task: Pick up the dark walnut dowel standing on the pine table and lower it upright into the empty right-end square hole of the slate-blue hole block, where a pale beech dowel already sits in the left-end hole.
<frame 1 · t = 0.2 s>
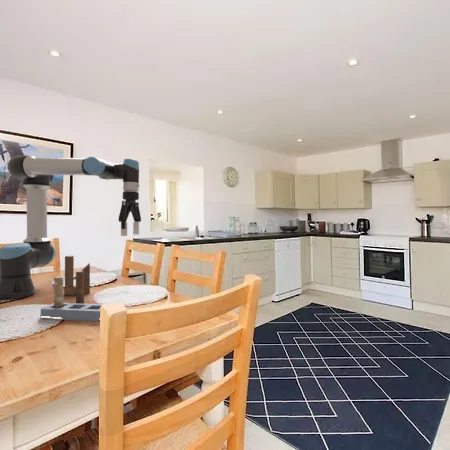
hand: (130, 235, 142), 28 cm above the table, fingers open, 13 cm apart
beech dowel: (58, 315, 107), resting in hole block
hole block: (76, 316, 107), on the table
walnut dowel: (79, 305, 119), on the table
wooden block: (77, 294, 138), on the table
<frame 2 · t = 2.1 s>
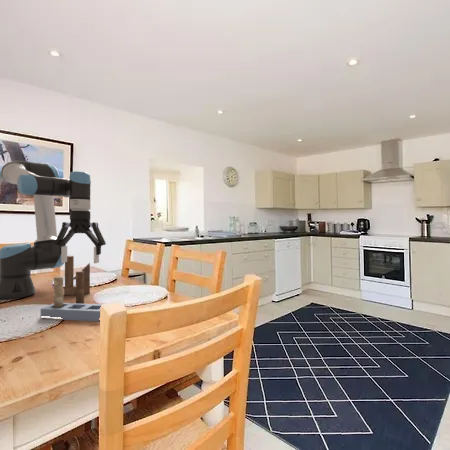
hand: (80, 262, 119), 18 cm above the table, fingers open, 13 cm apart
nothing on the table moved.
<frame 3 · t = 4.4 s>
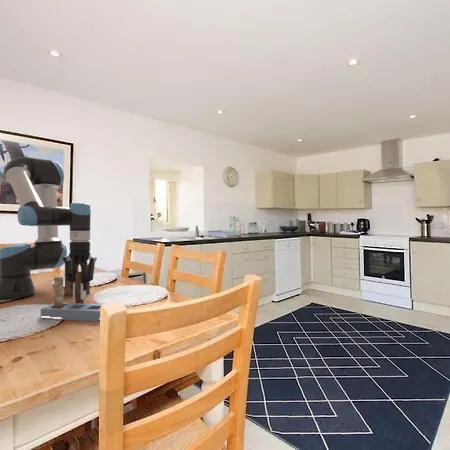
hand: (79, 298, 119), 3 cm above the table, fingers closed on walnut dowel, 3 cm apart
walnut dowel: (79, 305, 119), on the table, touching gripper
everything else where it was.
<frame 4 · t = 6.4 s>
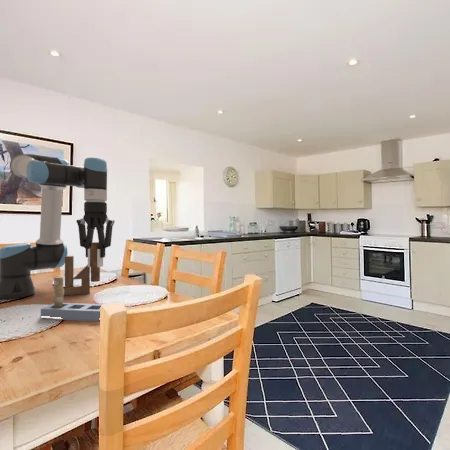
hand: (95, 266, 106), 19 cm above the table, fingers closed on walnut dowel, 3 cm apart
walnut dowel: (95, 280, 106), point 13 cm above the table, touching gripper
everything else where it was.
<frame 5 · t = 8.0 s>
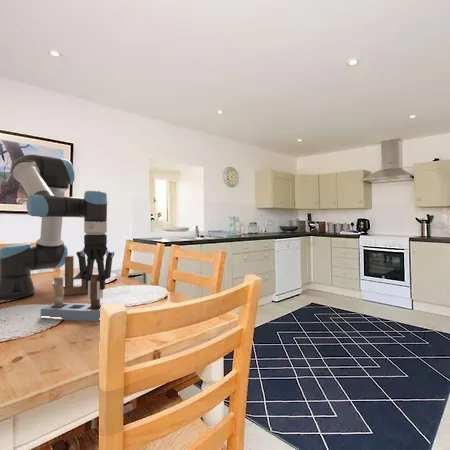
hand: (95, 298, 106), 7 cm above the table, fingers closed on walnut dowel, 3 cm apart
walnut dowel: (95, 312, 106), point 2 cm above the table, touching gripper
everything else where it was.
when the fingers open (5 cm above the table, at t = 8.6 s): walnut dowel stays where it is, resting in hole block.
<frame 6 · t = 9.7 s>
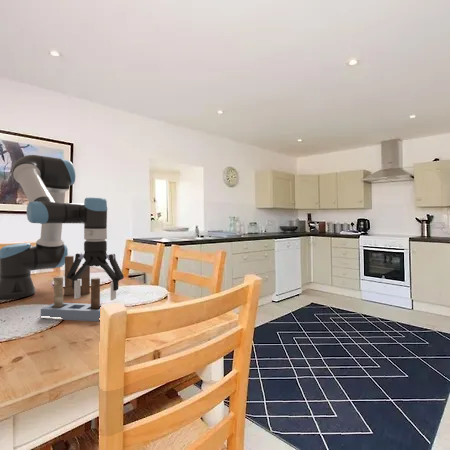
hand: (95, 298, 106), 7 cm above the table, fingers open, 13 cm apart
walnut dowel: (95, 317, 106), resting in hole block
everything else where it was.
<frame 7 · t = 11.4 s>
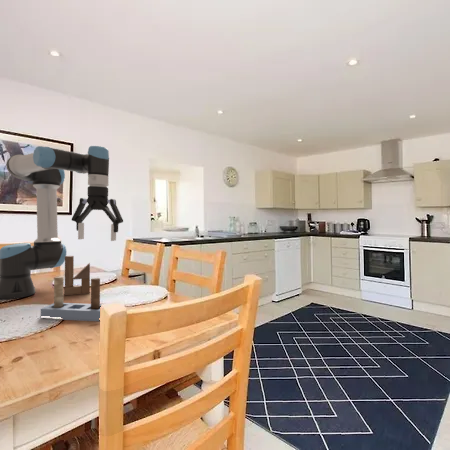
hand: (97, 239, 116), 27 cm above the table, fingers open, 13 cm apart
nothing on the table moved.
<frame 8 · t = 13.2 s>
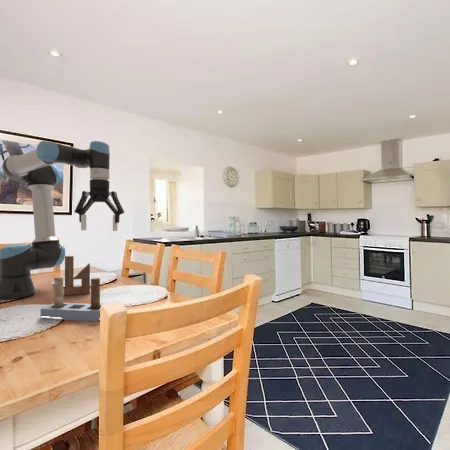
hand: (99, 230, 122), 31 cm above the table, fingers open, 13 cm apart
nothing on the table moved.
at the end: walnut dowel 0.1 cm from the target spot on the hole block, point 0.0 cm above the hole block's base; walnut dowel tilted 0°; the gripper is holding nothing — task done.
